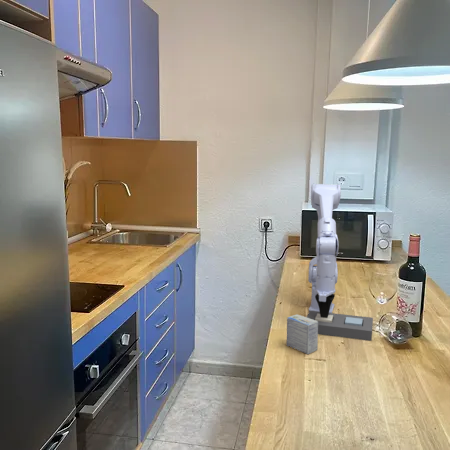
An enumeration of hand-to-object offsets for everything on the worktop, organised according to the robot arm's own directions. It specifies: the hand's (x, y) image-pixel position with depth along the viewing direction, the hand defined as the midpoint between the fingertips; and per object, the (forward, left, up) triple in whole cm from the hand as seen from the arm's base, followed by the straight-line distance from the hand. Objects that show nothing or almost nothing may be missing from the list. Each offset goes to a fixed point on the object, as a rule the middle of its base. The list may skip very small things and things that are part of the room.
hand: (324, 317), depth 147 cm
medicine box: (+18, -4, -4) cm, 19 cm away
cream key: (0, 0, -3) cm, 3 cm away
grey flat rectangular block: (0, +4, -3) cm, 6 cm away
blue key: (0, +9, -3) cm, 9 cm away
